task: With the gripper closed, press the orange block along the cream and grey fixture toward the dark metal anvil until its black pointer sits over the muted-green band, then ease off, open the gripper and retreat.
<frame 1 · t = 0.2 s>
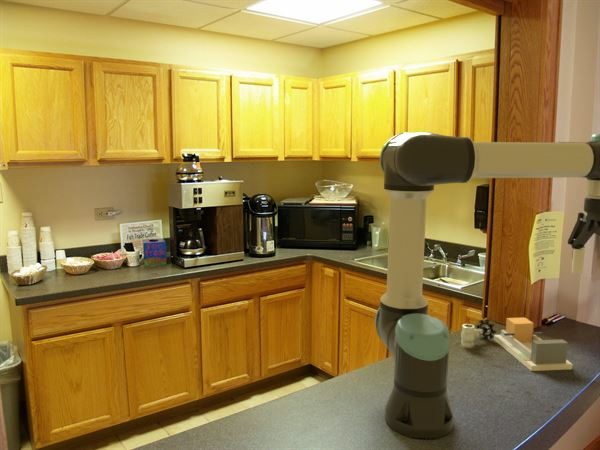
hand: (593, 280, 127), 28 cm above the countertop, fingers open, 13 cm apart
cream and grey fixture: (530, 353, 150), on the countertop
valve: (475, 343, 157), on the countertop
orange block: (519, 330, 156), point 5 cm above the countertop, slide at 0.0 cm
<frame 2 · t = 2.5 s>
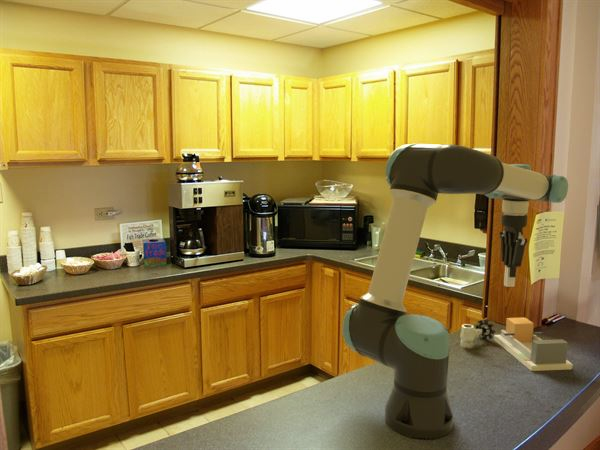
hand: (509, 285, 161), 16 cm above the countertop, fingers closed
nothing on the countertop moved.
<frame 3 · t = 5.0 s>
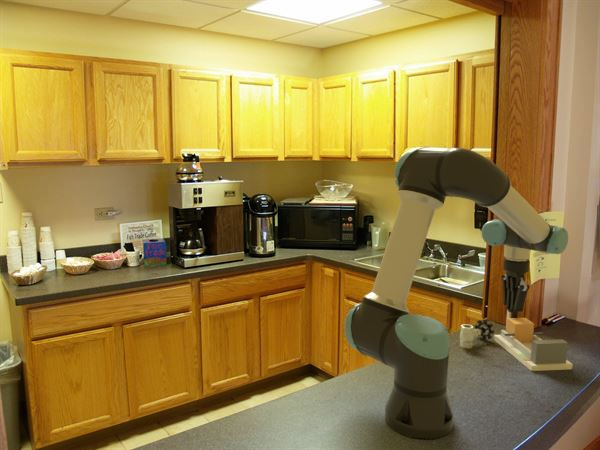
hand: (510, 329, 160), 3 cm above the countertop, fingers closed
orange block: (519, 330, 155), point 5 cm above the countertop, slide at 0.3 cm, touching gripper
everything else where it was.
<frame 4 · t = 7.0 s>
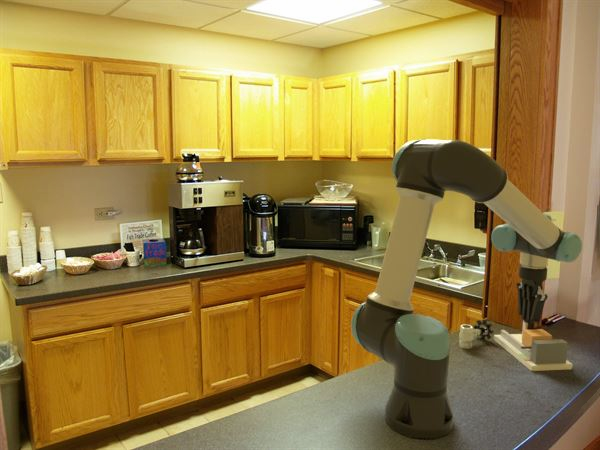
hand: (526, 341, 151), 3 cm above the countertop, fingers closed
orange block: (536, 342, 146), point 5 cm above the countertop, slide at 9.7 cm
everything else where it was.
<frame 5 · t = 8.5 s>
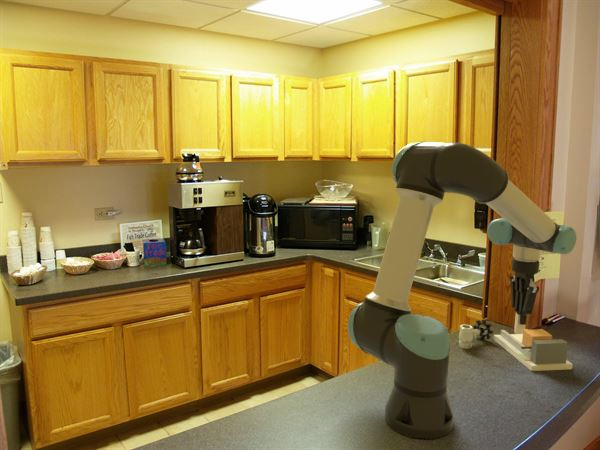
hand: (519, 333, 155), 4 cm above the countertop, fingers closed
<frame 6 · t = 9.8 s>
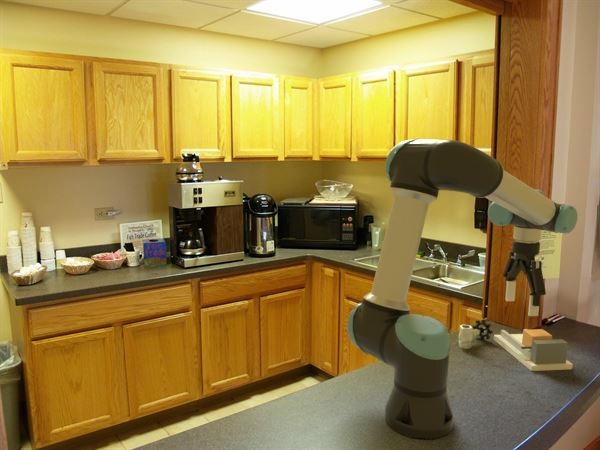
hand: (521, 308, 154), 12 cm above the countertop, fingers open, 13 cm apart
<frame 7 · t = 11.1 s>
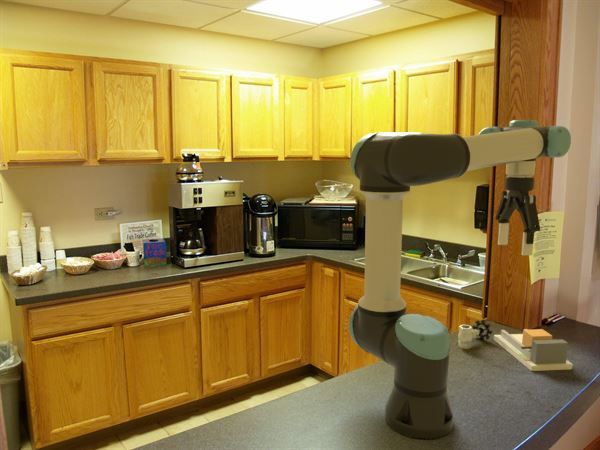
hand: (514, 249, 144), 32 cm above the countertop, fingers open, 13 cm apart
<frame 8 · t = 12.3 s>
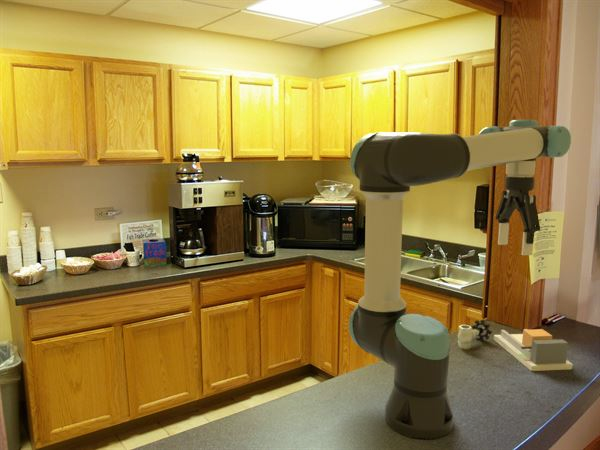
hand: (514, 249, 144), 32 cm above the countertop, fingers open, 13 cm apart
at the end: orange block slide at 9.8 cm; the gripper is holding nothing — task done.
